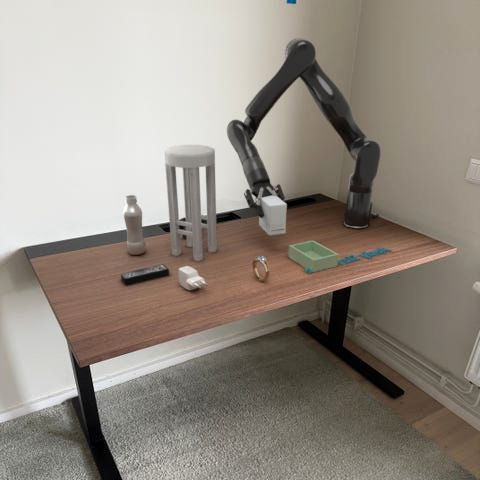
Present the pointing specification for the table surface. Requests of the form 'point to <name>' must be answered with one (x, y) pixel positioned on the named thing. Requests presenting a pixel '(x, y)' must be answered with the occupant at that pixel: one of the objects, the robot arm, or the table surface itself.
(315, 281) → the table surface
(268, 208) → the cosmetics box
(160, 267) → the multiport hub
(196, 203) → the stool
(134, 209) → the plastic bottle
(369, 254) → the nameplate
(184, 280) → the power adapter
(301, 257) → the holder
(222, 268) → the table surface
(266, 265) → the ring
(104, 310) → the table surface
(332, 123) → the robot arm
